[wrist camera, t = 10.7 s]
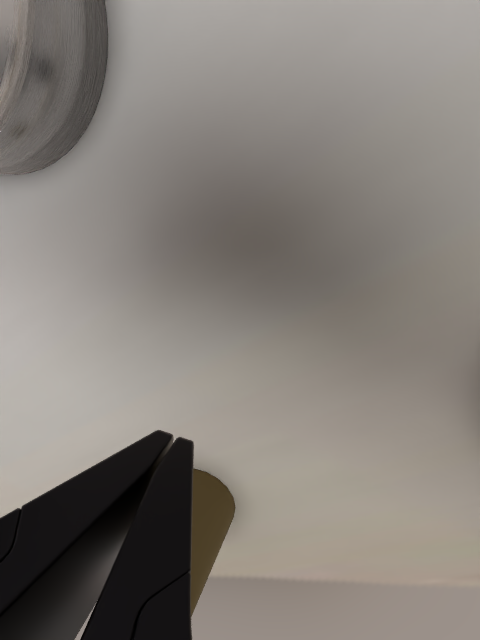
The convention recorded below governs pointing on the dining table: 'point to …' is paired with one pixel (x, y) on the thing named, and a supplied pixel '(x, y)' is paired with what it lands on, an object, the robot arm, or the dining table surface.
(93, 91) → the pot
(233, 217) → the dining table surface
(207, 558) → the cork
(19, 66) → the lid
